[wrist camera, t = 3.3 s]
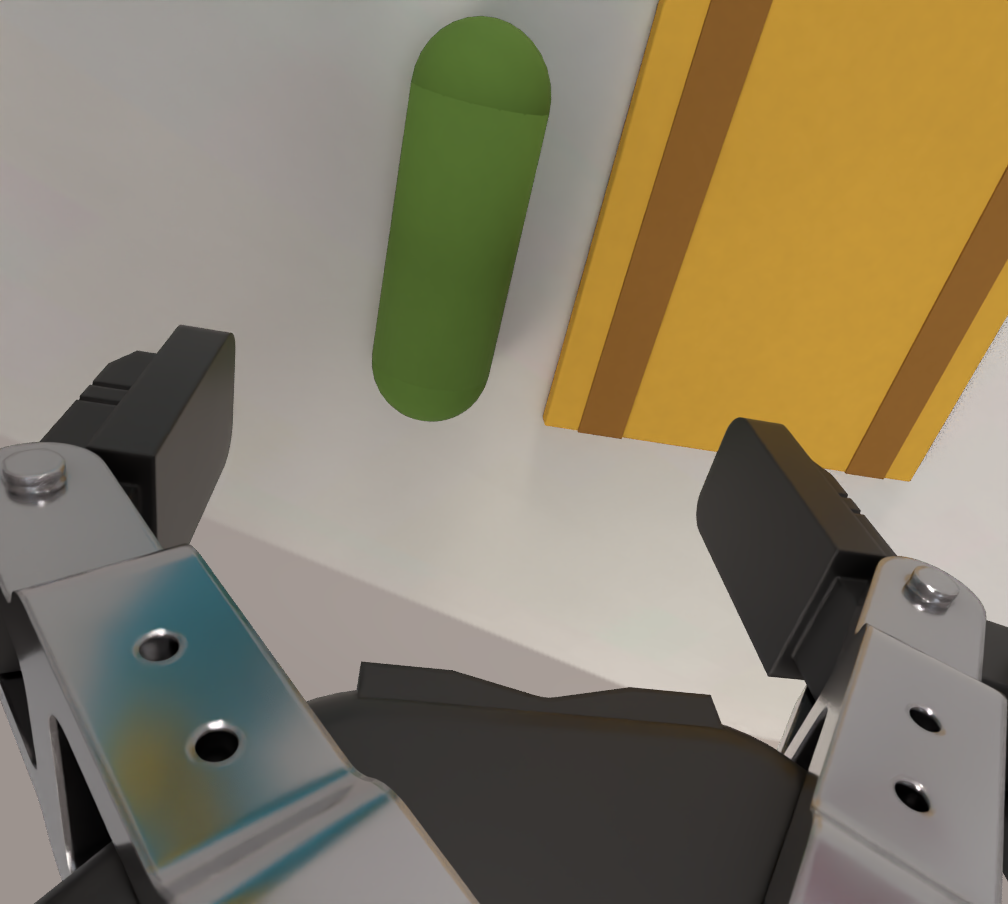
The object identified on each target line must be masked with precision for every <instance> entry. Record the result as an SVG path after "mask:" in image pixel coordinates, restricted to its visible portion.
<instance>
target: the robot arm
mask: <svg viewBox="0 0 1008 904" xmlns="http://www.w3.org/2000/svg"><path fill="white" fill-rule="evenodd" d="M234 372H235V339H234V335H233V334H232V333H229V332H222V331H216V330H210V329H204V328H198V327H192V326H186V325H179V326H178V327H177V328H176V329H175V331H174V332H173V333H172V335H171V336H170V337H169V339H168V340H167V341H166V342H165V344H164V345H163V346H162V348H161V349H160V350H159V351H158V353H157V354H156V353H149V352H143V351H135V352H133V353H131V354H129V355H126V356H124V357H122V358H120V359H117V360H115V361H113V362H111V363H108V365H107V366H106V367H105V368H104V369H103V370H102V371H101V373H100V374H99V375H98V376H97V377H96V378H95V379H94V381H93V384H92V385H89V386H88V387H87V388H86V390H85V391H84V392H83V393H82V394H81V395H80V399H79V400H76V401H75V402H74V403H73V404H72V406H71V407H70V408H69V409H68V410H67V411H66V412H65V413H64V415H63V416H62V417H61V418H60V419H59V420H58V421H57V423H56V424H55V425H54V426H53V427H52V428H51V429H50V430H49V432H48V433H47V434H46V435H45V436H44V437H43V438H42V440H41V441H40V442H32V443H23V444H16V445H12V446H7V447H4V448H0V701H1V704H2V706H3V709H4V711H5V714H6V716H7V719H8V722H9V724H10V727H11V729H12V732H13V735H14V737H15V740H16V742H17V745H18V747H19V750H20V753H21V755H22V758H23V761H24V763H25V766H26V768H27V771H28V773H29V776H30V779H31V781H32V784H33V786H34V789H35V792H36V794H37V797H38V801H39V803H40V807H41V810H42V814H43V817H44V821H45V825H46V829H47V833H48V837H49V841H50V844H51V847H52V851H53V855H54V858H55V861H56V864H57V867H58V870H59V873H60V876H61V879H62V882H61V883H59V884H58V885H57V886H55V887H54V888H53V889H52V890H51V891H49V892H48V893H47V894H46V895H44V896H43V897H42V898H41V899H39V900H38V901H37V902H36V903H34V904H1002V873H1003V874H1004V875H1005V877H1006V879H1007V880H1008V627H1005V626H1002V625H999V624H996V623H993V622H990V621H987V620H986V611H985V609H984V606H983V605H982V603H981V601H980V600H979V599H978V598H977V596H976V595H975V594H974V593H973V592H972V591H971V590H970V589H969V588H968V587H966V586H965V585H964V584H963V583H962V582H960V581H959V580H957V579H956V578H954V577H953V576H951V575H950V574H948V573H946V572H945V571H943V570H941V569H939V568H937V567H935V566H933V565H930V564H928V563H925V562H922V561H920V560H916V559H913V558H909V557H902V556H897V555H896V554H895V553H894V552H893V550H892V549H891V548H890V547H889V545H888V544H887V543H886V542H885V540H884V539H883V538H882V537H881V535H880V534H879V533H878V532H877V530H876V529H875V528H874V527H873V525H872V524H871V523H870V522H869V520H868V519H867V518H866V517H865V515H862V514H860V511H861V510H860V509H859V508H858V507H857V505H856V504H855V503H854V502H853V500H852V499H850V498H847V496H848V494H847V493H846V492H845V490H844V489H843V488H842V487H841V485H840V484H839V483H838V482H837V481H836V479H835V478H834V477H833V476H832V475H831V474H830V473H829V472H827V471H826V470H825V469H823V468H822V467H821V466H819V465H818V464H817V463H815V462H814V461H813V460H812V459H811V458H810V457H809V456H808V454H807V453H806V452H805V450H804V449H803V448H802V447H801V445H800V444H799V443H798V442H797V440H796V439H795V438H794V436H793V435H792V434H791V433H790V431H789V430H788V429H787V428H786V427H785V426H784V425H783V424H779V423H773V422H767V421H761V420H755V419H748V418H742V417H738V418H736V419H734V420H733V421H732V422H731V423H730V425H729V426H728V428H727V430H726V432H725V435H724V437H723V439H722V442H721V444H720V447H719V449H718V451H717V454H716V456H715V459H714V461H713V464H712V466H711V468H710V471H709V473H708V476H707V478H706V480H705V483H704V485H703V488H702V490H701V493H700V495H699V499H698V503H697V512H696V518H697V526H698V529H699V532H700V534H701V536H702V538H703V540H704V543H705V545H706V547H707V549H708V551H709V553H710V555H711V557H712V559H713V561H714V564H715V566H716V568H717V570H718V572H719V574H720V576H721V578H722V580H723V582H724V585H725V587H726V589H727V591H728V593H729V595H730V597H731V599H732V601H733V603H734V606H735V608H736V610H737V612H738V614H739V616H740V618H741V620H742V622H743V625H744V627H745V629H746V631H747V633H748V635H749V637H750V639H751V641H752V643H753V646H754V648H755V650H756V652H757V654H758V656H759V658H760V660H761V662H762V664H763V667H764V669H765V671H766V673H767V675H768V676H769V677H779V678H789V679H799V680H805V682H806V684H807V685H806V686H805V688H804V690H803V691H802V693H801V695H800V696H799V698H798V700H797V702H796V703H795V706H794V708H793V711H792V713H791V716H790V718H789V721H788V723H787V726H786V728H785V731H784V733H783V736H782V738H781V741H780V743H779V746H778V748H777V750H776V749H774V748H773V747H771V746H769V745H768V744H766V743H764V742H762V741H760V740H758V739H756V738H754V737H752V736H750V735H748V734H746V733H743V732H741V731H738V730H736V729H734V728H731V727H729V726H725V725H722V724H721V721H720V719H719V716H718V713H717V711H716V708H715V705H714V703H713V700H712V698H711V695H705V694H695V693H684V692H674V691H663V690H653V689H642V688H632V687H628V688H621V689H614V690H606V691H599V692H592V693H584V694H576V695H569V696H562V697H554V698H546V697H540V696H535V695H532V694H529V693H526V692H522V691H519V690H516V689H512V688H509V687H506V686H502V685H499V684H495V683H492V682H489V681H486V680H482V679H479V678H475V677H473V676H469V675H466V674H462V673H459V672H456V671H453V670H442V669H432V668H422V667H411V666H401V665H391V664H380V663H370V662H361V666H360V673H359V678H358V684H357V690H355V691H348V692H341V693H336V694H332V695H327V696H323V697H319V698H315V699H313V700H310V701H307V702H306V701H305V699H304V698H303V697H302V695H301V694H300V693H299V691H298V690H297V688H296V687H295V685H294V684H293V683H292V681H291V680H290V678H289V677H288V676H287V674H286V673H285V672H284V670H283V669H282V667H281V666H280V665H279V663H278V662H277V661H276V659H275V658H274V657H273V655H272V654H271V652H270V651H269V649H268V648H267V647H266V645H265V644H264V642H263V641H262V640H261V638H260V637H259V635H258V634H257V633H256V631H255V630H254V629H253V627H252V626H251V624H250V623H249V622H248V620H247V619H246V617H245V616H244V615H243V613H242V612H241V610H240V609H239V608H238V606H237V605H236V604H235V602H234V601H233V599H232V598H231V597H230V595H229V594H228V593H227V591H226V590H225V589H224V587H223V586H222V584H221V583H220V581H219V580H218V579H217V577H216V576H215V575H214V573H213V572H212V570H211V569H210V568H209V566H208V565H207V563H206V562H205V561H204V559H203V558H202V556H201V555H200V554H199V553H198V551H197V550H196V549H195V548H194V547H193V546H191V545H189V543H190V541H191V539H192V537H193V534H194V532H195V530H196V528H197V526H198V523H199V521H200V519H201V517H202V515H203V512H204V510H205V508H206V506H207V503H208V501H209V499H210V497H211V495H212V492H213V490H214V488H215V486H216V484H217V481H218V479H219V477H220V475H221V472H222V470H223V468H224V466H225V463H226V460H227V457H228V453H229V448H230V443H231V436H232V425H233V399H234Z"/></svg>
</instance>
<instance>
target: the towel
mask: <svg viewBox="0 0 1008 904" xmlns="http://www.w3.org/2000/svg"><path fill="white" fill-rule="evenodd" d="M1007 315H1008V0H659V3H658V7H657V10H656V14H655V17H654V21H653V24H652V28H651V32H650V35H649V39H648V42H647V46H646V50H645V53H644V57H643V60H642V64H641V67H640V71H639V75H638V78H637V82H636V85H635V89H634V92H633V96H632V100H631V103H630V107H629V110H628V114H627V118H626V121H625V125H624V128H623V132H622V135H621V139H620V143H619V146H618V150H617V153H616V157H615V160H614V164H613V168H612V171H611V175H610V178H609V182H608V185H607V189H606V193H605V196H604V200H603V203H602V207H601V211H600V214H599V218H598V221H597V225H596V228H595V232H594V236H593V239H592V243H591V246H590V250H589V253H588V257H587V261H586V264H585V268H584V271H583V275H582V279H581V282H580V286H579V289H578V293H577V296H576V300H575V304H574V307H573V311H572V314H571V318H570V321H569V325H568V329H567V332H566V336H565V339H564V343H563V346H562V350H561V354H560V357H559V361H558V364H557V368H556V372H555V375H554V379H553V382H552V386H551V389H550V393H549V397H548V400H547V404H546V407H545V411H544V414H543V420H544V424H545V425H547V426H553V427H560V428H566V429H572V430H578V432H580V433H587V434H593V435H600V436H606V437H613V438H619V439H622V437H624V438H631V439H637V440H644V441H650V442H657V443H663V444H669V445H676V446H682V447H689V448H695V449H702V450H708V451H715V452H717V451H718V449H719V447H720V444H721V442H722V439H723V437H724V435H725V432H726V430H727V428H728V426H729V425H730V423H731V422H732V421H733V420H734V419H736V418H738V417H742V418H748V419H755V420H761V421H767V422H773V423H779V424H783V425H784V426H785V427H786V428H787V429H788V430H789V431H790V433H791V434H792V435H793V436H794V438H795V439H796V440H797V442H798V443H799V444H800V445H801V447H802V448H803V449H804V450H805V452H806V453H807V454H808V456H809V457H810V458H811V459H812V460H813V461H814V462H815V463H817V464H818V465H819V466H821V467H822V468H825V469H831V470H838V471H844V472H845V473H846V474H852V475H859V476H865V477H872V478H878V479H884V478H889V479H896V480H902V481H911V479H912V477H913V476H914V474H915V472H916V470H917V469H918V467H919V465H920V464H921V462H922V460H923V458H924V457H925V455H926V453H927V452H928V450H929V448H930V447H931V445H932V443H933V441H934V440H935V438H936V436H937V435H938V433H939V431H940V430H941V428H942V426H943V424H944V423H945V421H946V419H947V418H948V416H949V414H950V412H951V411H952V409H953V407H954V406H955V404H956V402H957V401H958V399H959V397H960V395H961V394H962V392H963V390H964V389H965V387H966V385H967V384H968V382H969V380H970V378H971V377H972V375H973V373H974V372H975V370H976V368H977V366H978V365H979V363H980V361H981V360H982V358H983V356H984V355H985V353H986V351H987V349H988V348H989V346H990V344H991V343H992V341H993V339H994V338H995V336H996V334H997V332H998V331H999V329H1000V327H1001V326H1002V324H1003V322H1004V320H1005V319H1006V317H1007Z"/></svg>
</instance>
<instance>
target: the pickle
mask: <svg viewBox="0 0 1008 904" xmlns="http://www.w3.org/2000/svg"><path fill="white" fill-rule="evenodd" d="M550 105H551V83H550V79H549V75H548V70H547V67H546V65H545V62H544V60H543V58H542V55H541V53H540V52H539V50H538V49H537V47H536V46H535V45H534V43H533V42H532V41H531V40H530V39H529V38H528V37H527V36H526V35H525V34H524V33H523V32H522V31H521V30H519V29H518V28H516V27H515V26H513V25H512V24H510V23H508V22H505V21H503V20H500V19H497V18H492V17H485V16H476V17H467V18H464V19H461V20H458V21H455V22H452V23H451V24H449V25H447V26H446V27H444V28H442V29H441V30H440V31H439V32H437V33H436V34H435V35H434V36H433V37H432V38H431V39H430V40H429V42H428V43H427V44H426V46H425V47H424V49H423V50H422V51H421V53H420V56H419V58H418V60H417V62H416V65H415V68H414V72H413V76H412V80H411V87H410V94H409V101H408V108H407V115H406V122H405V129H404V136H403V143H402V150H401V157H400V164H399V171H398V178H397V185H396V192H395V199H394V206H393V213H392V220H391V227H390V234H389V241H388V248H387V255H386V262H385V268H384V275H383V282H382V289H381V296H380V303H379V310H378V317H377V324H376V331H375V338H374V345H373V352H372V369H373V375H374V379H375V382H376V384H377V386H378V389H379V391H380V393H381V394H382V395H383V397H384V398H385V399H386V401H387V402H388V403H389V404H390V405H391V406H392V407H394V408H395V409H396V410H397V411H399V412H400V413H402V414H404V415H405V416H408V417H410V418H413V419H417V420H421V421H442V420H446V419H450V418H453V417H455V416H457V415H459V414H461V413H463V412H464V411H466V410H467V409H468V408H470V407H471V406H472V405H473V404H474V403H475V402H476V401H477V399H478V398H479V396H480V394H481V393H482V391H483V389H484V388H485V385H486V383H487V380H488V376H489V372H490V368H491V364H492V359H493V355H494V351H495V346H496V342H497V338H498V333H499V329H500V325H501V320H502V316H503V312H504V307H505V303H506V299H507V294H508V290H509V286H510V281H511V277H512V273H513V268H514V264H515V260H516V256H517V251H518V247H519V243H520V238H521V234H522V230H523V225H524V221H525V217H526V212H527V208H528V204H529V199H530V195H531V191H532V186H533V182H534V178H535V173H536V169H537V165H538V160H539V156H540V152H541V147H542V143H543V139H544V134H545V130H546V126H547V121H548V117H549V112H550Z"/></svg>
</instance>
